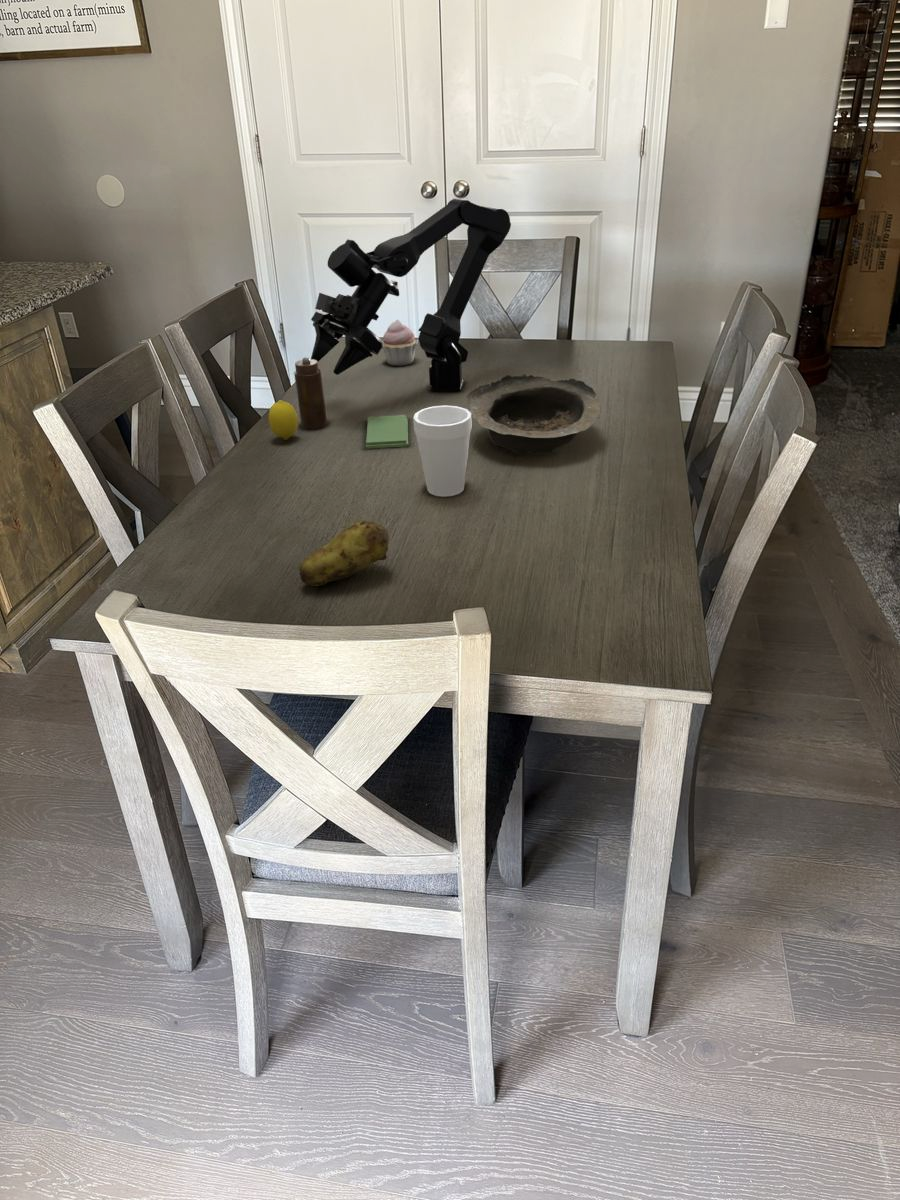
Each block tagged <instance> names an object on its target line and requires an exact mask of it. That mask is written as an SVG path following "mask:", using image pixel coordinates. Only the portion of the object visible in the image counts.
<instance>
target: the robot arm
mask: <svg viewBox="0 0 900 1200" xmlns="http://www.w3.org/2000/svg"><path fill="white" fill-rule="evenodd" d="M461 225H466V226H467V230H466V234H467V235H466V236H467V245H466V248H465V250H464V253H463V254H462V257H461V259H460V262H459V263H458V266H457V268H456V271H455V272H454V273H455V274H454V276H453V278H452V279H451V282H450V285H449V286H448V289H447V290H446V294H445V296H444V298H443V301H442V302H441V305H440V307H439V309H438V310H437V311H436V312H434V313H433V314H432V313H426V314H425V315H424V319H423V322H422V324H421V326H420V327H419V328H418V332H419V335H418V339H417V340H418V344H419V347H420V348H421V350H422V351H424V354H425V357H426V358H429V359H431V361H430V366H429V368H428V374H429V375H428V376H429V377H428V378H429V386H430V392H461V390H462V388H463V385H464V379H463V368H462V367H463V366H462V364H463V363H465V362H467V359H468V355H469V351H468V350H467V349H466V348H465V347H464V346H463V345H462V344H460V338H461V335H462V331H461V326H462V325H461V320H462V316H463V314H464V312H465V310H466V308H467V305H468V303H469V301H470V300H471V299H470V298H471V297H472V294H473V292H474V290H475V287H476V285H477V283H478V281H479V278H480V276H481V274H482V272H483V270H484V268H485V265H486V263H487V260H488V259H489V256H490V255H491V254H493V252H494V251H496V250H497V249H498V248H499V247H500V246H501V245H502V244H503V242H504V240H505V239H506V237H507V236H508V235H509V232H510V230H511V227H512V222H511V217H510V214H509V213H508V211H507V210H505V209H503V208H499V207H498V208H497V207H493V206H486V205H478V204H476V203H473V202H471V201H470V200H468V199H463V198H452V199H451V200H450V201H448V202H447V204H446V205H445V206H443V207H442V208H440V209H439V210H438V211H436V212H435V213H434V214H432V215H431V216H429V217H428V218H427V219H425V220H424V221H423V222H421V223H420V224H418V225H417V226H416V227H414V228H413V229H411V230H410V231H408V232H407V233H404V234H401V235H398V236H394V237H391V238H389V239H387V240H385V241H382V242H380V243H378V245H376V246H375V248H374V249H373V250H370V251H368V252H365V251H364V250H363V249H362V248H361V247H360V246H359V244H358V243H357V242H356V241H355V240H353V239H349V238H347V239H346V240H345V242H344V243H342V244H341V245H338V247H337V248H335V250H333V251H332V252H331V253H330V255H329V257H328V259H327V267H328V269H330V270H331V271H332V272H333V273H334V274H335V275H336V276H337V277H338V278H340V279H341V281H342V282H344V283H345V284H346V285H347V286H348V287H350V288H354V287H356V286H357V287H356V288H355V290H354V291H353V293H352V294H351V295H349V294H346V295H344V294H341V293H338V294H337V295H336V297H334V296H331V295H328V294H325V293H322V292H319V293H318V295H317V296H318V297H317V301H316V303H315V308H314V310H316V311H315V312H314V314H313V315H312V317H311V318H310V320H311V322H312V326H313V327H314V331H315V334H316V335H315V340H314V345H313V348H312V352H311V357H310V359H314V360H317V361H318V362H320V361H321V360H322V359H323V358H324V357H325V356H326V355H327V354H329V352H331V351H332V350H333V349H334V348H335V347H337V345H338V344H339V343H340V339H341V338H343V337H344V344H345V346H344V349H343V350H342V352H341V354H340V356H339V358H338V360H337V362H336V364H335V366H334V369H333V371H332V372H333V374H334V375H337V376H339V375H340V374H342V373H343V372H345V371H346V370H349V369H350V368H352V367H353V366H355V365H357V364H358V363H360V362H362V361H364V360H365V359H367V358H372V357H373V355H375V356H378V355H379V353H380V352H381V350H383V349H382V341H383V340H382V339H381V338H380V337H379V336H378V335H376V333H374V332H373V331H372V330H371V329H370V328H369V325H370V324H371V322H372V321H378V319H379V318H380V316H379V315H378V313H377V312H378V311H379V309H380V308H381V306H382V305H383V303H384V302H385V300H386V298H387V297H388V295H391V296H395V297H399V296H400V290H399V285H398V284H399V283H398V281H396V280H393V279H391V280H390V279H389V278H388V277H387V276H386V275H389V276H394V277H396V278H402V277H404V276H407V274H409V273H410V272H411V271H412V269H413V268H415V266H416V265H417V264H418V262H419V260H420V258H421V256H422V255H423V254H424V253H425V252H426V251H427V250H428V249H430V248H432V247H433V246H434V245H435V244H437V243H439V241H441V240H442V239H444V238H445V237H447V236H448V235H450V233H452V232H453V231H454V230H455V229H457V228H459V227H460V226H461ZM374 269H376V270H377V271H378V272H375V270H374Z"/></svg>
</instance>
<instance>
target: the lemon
mask: <svg viewBox="0 0 900 1200" xmlns="http://www.w3.org/2000/svg"><path fill="white" fill-rule="evenodd" d="M268 424H269V428H270V430H271V431H272V433H273V434H274V435H275V436H277V437H279V438H282V439H283V440H285V441H287V440H289V439H290V437H292V436H293V435H294V434H296V432H297V430H298V428H299V418H298V414H297V411H296V409H295V408H294V406H293V405H292V404H291V403H289V402H287V401H284V400H283V399H279V400H278V401H277V402H275V403H274V404H273V405H271V406H270V409H269V411H268Z"/></svg>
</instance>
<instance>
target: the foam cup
mask: <svg viewBox="0 0 900 1200" xmlns="http://www.w3.org/2000/svg"><path fill="white" fill-rule="evenodd" d="M468 410H469V409H467V408H464V407H461V406H457V405H448V404H447V405H445V404H444V405H434V406H429V407H425V408H421V409H420V410H418V411H417V412H415V413H414V414H413V415H414V416H413V418H412V419H413V420H412V421H413V433H415V436H416V442H417V446H418V451H419V456H420V461H421V466H422V470H423V477H424V481H425V482H424V483H425V486H426V490H427V492H428V493H429V494H430V495H433V496H435V497H443V498H444V497H446V498H447V497H454V496H456V495H460V494H461V493H462V492H464V490H465V485H466V484H465V482H466V474H467V466H468V465H467V464H468V456H469V448H470V447H469V445H470V437H471V436H470V435H471V431H472V428H473V427H472V426H473V425H472V424H473V422H472V421H473V420H472V418H473V417H472V416H471V413H470V412H469V411H468Z"/></svg>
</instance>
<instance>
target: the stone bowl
mask: <svg viewBox="0 0 900 1200" xmlns="http://www.w3.org/2000/svg"><path fill="white" fill-rule="evenodd" d="M596 396H597V394H596V392H595V389H594V388H593V387H591V386H589V385H588V384H586V383H585V382H584V381H582V380H577V379H576V378H570V379H564V380H563V379H560V380H556V381H554V380H551V378H548V377H543V376H534V375H532V374H530V375H526V374H522V375H519V376H517V375H515V376H511V375H509V374H507V375H506V376H503V377H501V378H500V379H499V380H497V381H492V382H490V384H489V383H487V384H483V385H479V386H478V387H475V388H474V389H471V390H470V391H469V393H468V394H467V395H466V396H465V398H466V399H467V406H468V408H469V409H467V410H468V411H469V412H470V413H471V418H473V419H475V420H476V421H477V422H478V424H479V426H481V427H483V428H485V429H488V435H489V438H490V440H491V441H492V443H493V444H494V445H495V446H497V447H499V448H500V447H502V448H505V449H507V450H510V451H512V452H514V453H516V454H519V455H525V454H526V455H527V454H529V453H530V454H546V453H551V452H553V451H554V450H556V449H559V448H560V447H563V446H565V445H567V444H569V443H570V442H572V441H573V440H574V439H575V437H576V436H577V435H578V434H579V433H580V432H584V431H586V430H588V429H589V428H590V427H591V426H592V425H593V423H594V422H595V421H597V420H599V419H600V418H601V416H602V415H601V414H602V405H601V404H600V402H599V400H598V398H596Z"/></svg>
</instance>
